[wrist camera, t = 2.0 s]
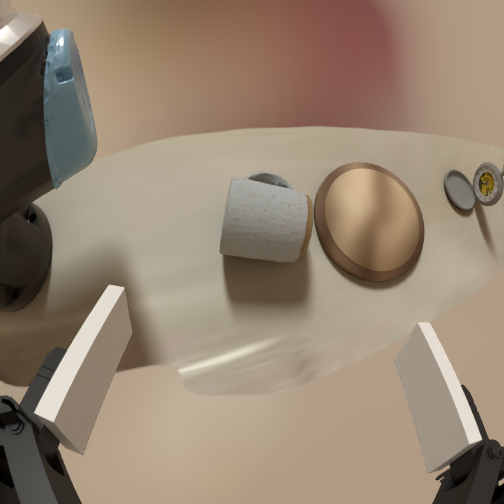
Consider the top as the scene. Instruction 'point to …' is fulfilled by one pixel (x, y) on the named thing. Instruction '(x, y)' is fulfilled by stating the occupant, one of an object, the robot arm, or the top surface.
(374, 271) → the brown round plate
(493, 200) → the pocket watch
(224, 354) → the top surface
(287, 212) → the ceramic mug
